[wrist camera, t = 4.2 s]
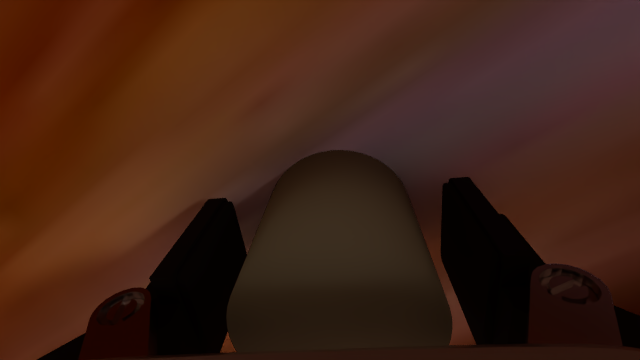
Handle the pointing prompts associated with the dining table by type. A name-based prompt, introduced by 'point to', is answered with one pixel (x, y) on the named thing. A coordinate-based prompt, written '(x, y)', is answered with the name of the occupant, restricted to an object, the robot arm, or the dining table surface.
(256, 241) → the olive domed cylinder
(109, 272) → the dining table surface
